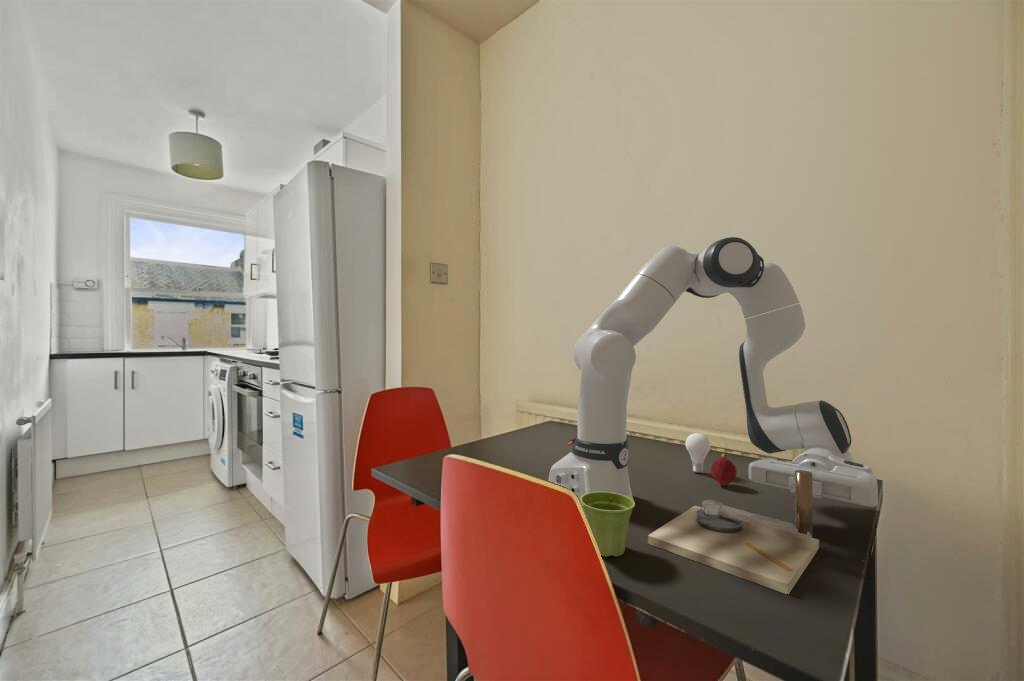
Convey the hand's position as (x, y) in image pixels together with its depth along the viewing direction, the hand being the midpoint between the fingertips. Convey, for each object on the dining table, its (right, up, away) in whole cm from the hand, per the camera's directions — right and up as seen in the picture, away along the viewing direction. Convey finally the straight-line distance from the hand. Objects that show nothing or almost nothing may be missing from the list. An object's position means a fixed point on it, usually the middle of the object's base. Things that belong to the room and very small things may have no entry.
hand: (799, 490), depth 77 cm
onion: (+2, -10, +32) cm, 33 cm away
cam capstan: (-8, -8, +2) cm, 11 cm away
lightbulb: (0, -10, +42) cm, 44 cm away
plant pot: (-35, -10, -1) cm, 36 cm away
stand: (-12, -10, 0) cm, 16 cm away
